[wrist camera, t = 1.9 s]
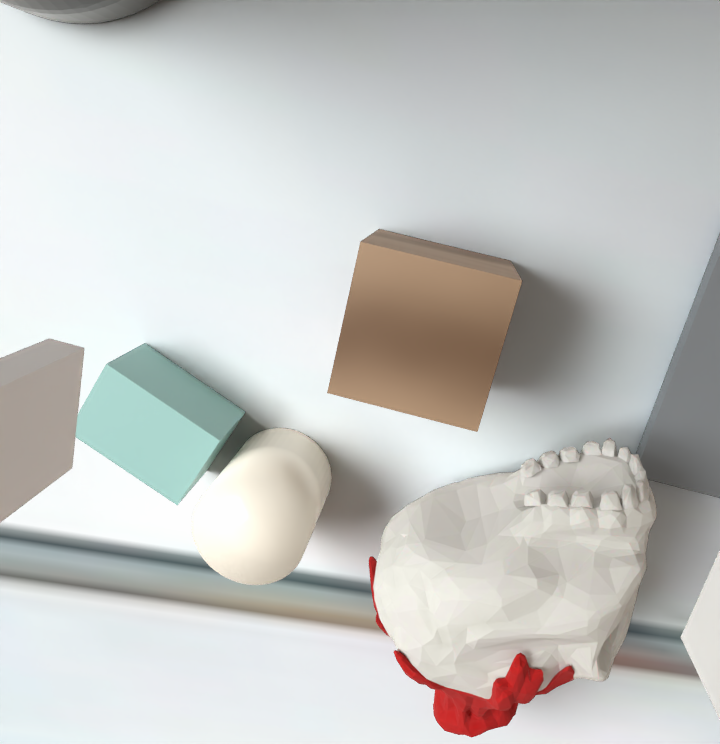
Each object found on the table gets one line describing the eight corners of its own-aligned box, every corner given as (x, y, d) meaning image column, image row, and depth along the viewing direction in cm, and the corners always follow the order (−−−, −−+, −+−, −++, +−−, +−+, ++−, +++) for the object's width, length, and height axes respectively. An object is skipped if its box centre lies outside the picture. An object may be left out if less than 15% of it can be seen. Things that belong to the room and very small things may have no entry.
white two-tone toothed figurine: (632, 412, 31) (582, 661, 37) (383, 394, 32) (374, 637, 38) (695, 535, 22) (618, 830, 28) (356, 504, 24) (351, 792, 30)
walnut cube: (379, 229, 30) (360, 241, 25) (510, 260, 30) (522, 280, 24) (350, 354, 32) (327, 392, 27) (474, 385, 32) (477, 431, 26)
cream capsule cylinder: (244, 416, 34) (200, 465, 28) (340, 442, 34) (316, 497, 28) (228, 503, 35) (183, 567, 30) (321, 529, 35) (293, 598, 29)
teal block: (146, 342, 34) (106, 364, 30) (246, 410, 34) (219, 440, 30) (110, 403, 35) (68, 432, 31) (207, 469, 35) (177, 505, 31)
